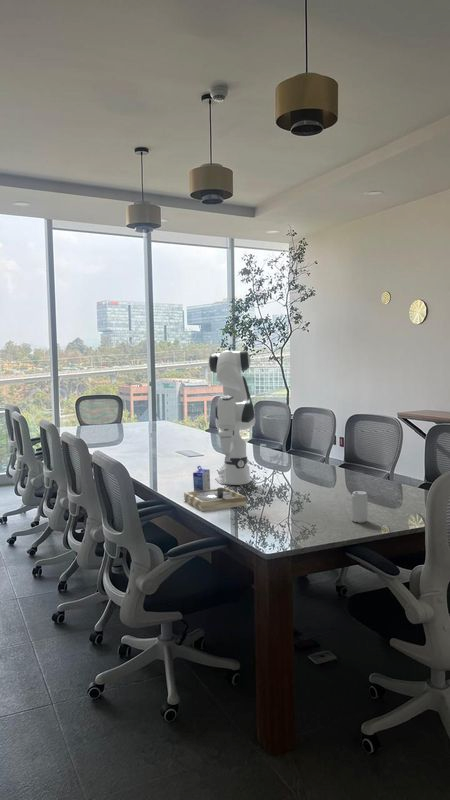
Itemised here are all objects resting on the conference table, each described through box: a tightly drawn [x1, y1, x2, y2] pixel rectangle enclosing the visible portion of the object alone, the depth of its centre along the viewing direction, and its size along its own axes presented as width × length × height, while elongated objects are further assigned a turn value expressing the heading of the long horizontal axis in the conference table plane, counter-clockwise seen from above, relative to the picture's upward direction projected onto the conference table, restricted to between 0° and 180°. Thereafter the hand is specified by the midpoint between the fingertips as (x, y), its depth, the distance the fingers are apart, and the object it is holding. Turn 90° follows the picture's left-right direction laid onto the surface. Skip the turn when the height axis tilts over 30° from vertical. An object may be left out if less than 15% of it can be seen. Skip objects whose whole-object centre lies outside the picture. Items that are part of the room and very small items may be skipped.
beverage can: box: [350, 490, 369, 524], centre depth 241 cm, size 6×6×12 cm
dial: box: [197, 487, 233, 501], centre depth 275 cm, size 17×17×6 cm
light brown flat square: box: [183, 487, 247, 512], centre depth 275 cm, size 22×22×4 cm
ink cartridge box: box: [192, 465, 211, 491], centre depth 292 cm, size 10×6×14 cm, turn 161°
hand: (228, 460), depth 273 cm, fingers closed
